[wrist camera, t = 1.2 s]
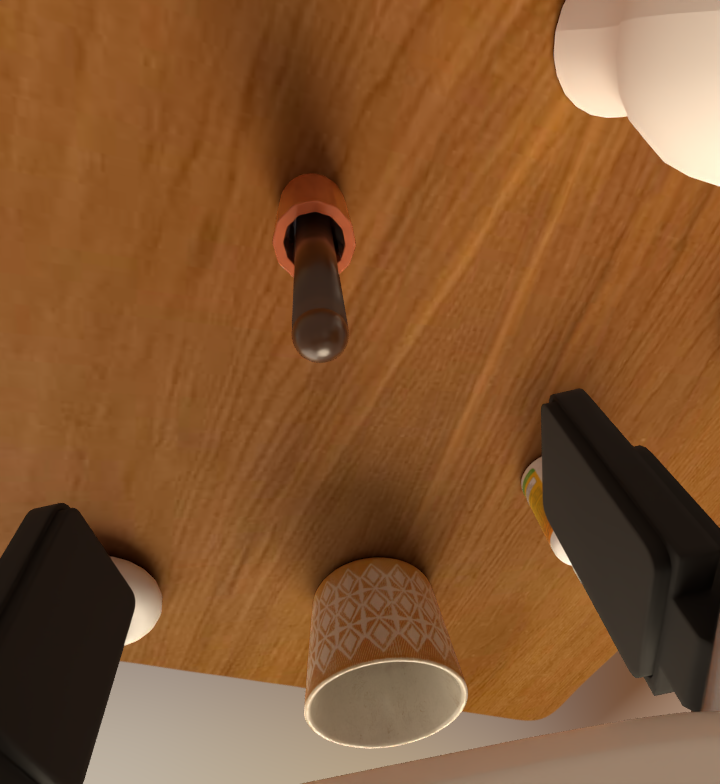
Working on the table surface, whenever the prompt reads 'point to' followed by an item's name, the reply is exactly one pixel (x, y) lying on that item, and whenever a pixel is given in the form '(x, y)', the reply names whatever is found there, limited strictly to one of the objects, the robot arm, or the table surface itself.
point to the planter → (380, 658)
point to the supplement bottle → (541, 506)
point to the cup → (648, 73)
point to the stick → (317, 292)
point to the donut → (141, 598)
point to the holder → (307, 198)
